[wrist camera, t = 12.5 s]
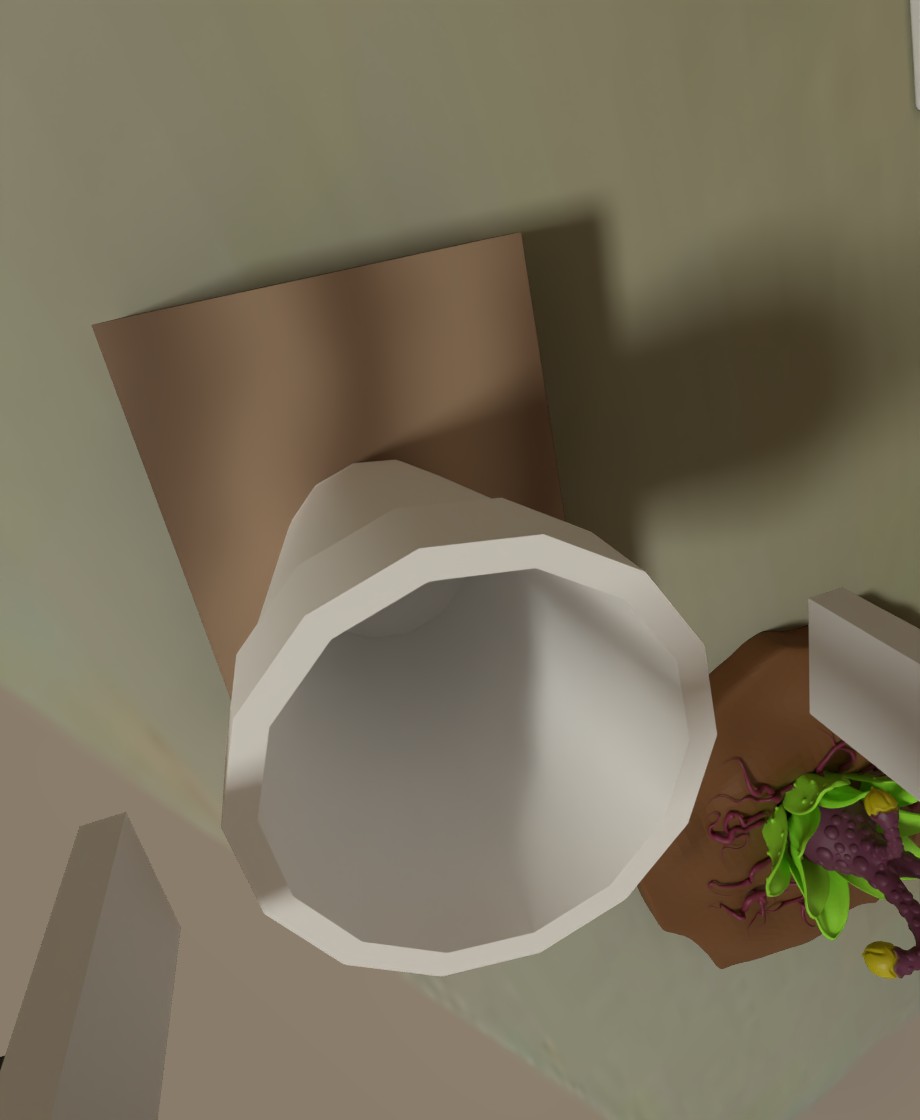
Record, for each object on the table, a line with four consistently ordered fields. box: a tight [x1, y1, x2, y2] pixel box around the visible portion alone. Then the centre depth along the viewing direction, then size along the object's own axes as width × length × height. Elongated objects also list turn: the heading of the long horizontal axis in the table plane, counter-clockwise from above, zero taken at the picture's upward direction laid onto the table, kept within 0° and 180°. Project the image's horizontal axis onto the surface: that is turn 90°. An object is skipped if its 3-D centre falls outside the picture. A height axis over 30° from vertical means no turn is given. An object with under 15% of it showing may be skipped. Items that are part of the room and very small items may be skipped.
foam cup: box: [221, 460, 717, 976], centre depth 20 cm, size 10×9×13 cm
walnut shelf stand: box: [92, 232, 565, 699], centre depth 28 cm, size 13×18×5 cm
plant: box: [637, 625, 920, 979], centre depth 37 cm, size 20×20×11 cm
